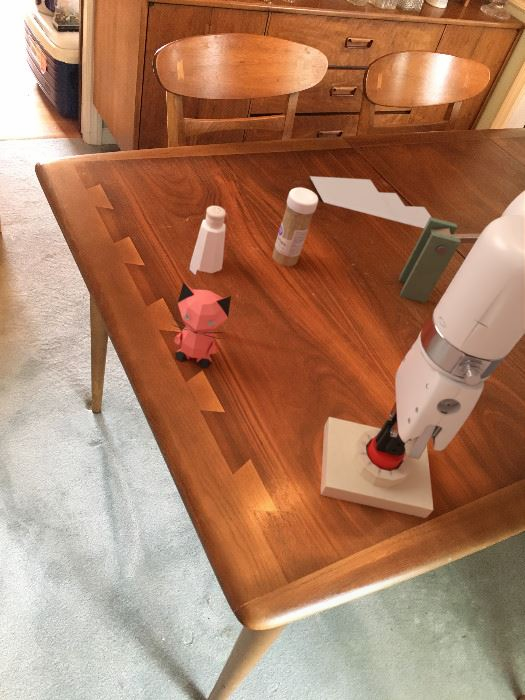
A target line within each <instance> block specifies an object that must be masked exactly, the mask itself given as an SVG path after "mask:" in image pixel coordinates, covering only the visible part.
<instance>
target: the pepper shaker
mask: <svg viewBox="0 0 525 700" xmlns="http://www.w3.org/2000/svg"><path fill="white" fill-rule="evenodd" d="M226 215H227V212H226V210H225V208H224V207H221V206H219V205H210V206H208V207H207V208H206V215H205V218H204V219H203V220H202V222H201V225H200V228H199V232H198V235H197V239H196V242H195V246H194V248H193V249H194V250H193V254H192V256H191V260H190V264H189V271H190V272H191V273H192V274H193V275H194V276H196V274H197V272H204V273H207V274H215V273H216V272H219V271H221V270H223V263H224V253H225V252H224V251H225V239H226V229H227V228H226V227H227V226H226V223H224V222H225V217H226Z"/></svg>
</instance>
